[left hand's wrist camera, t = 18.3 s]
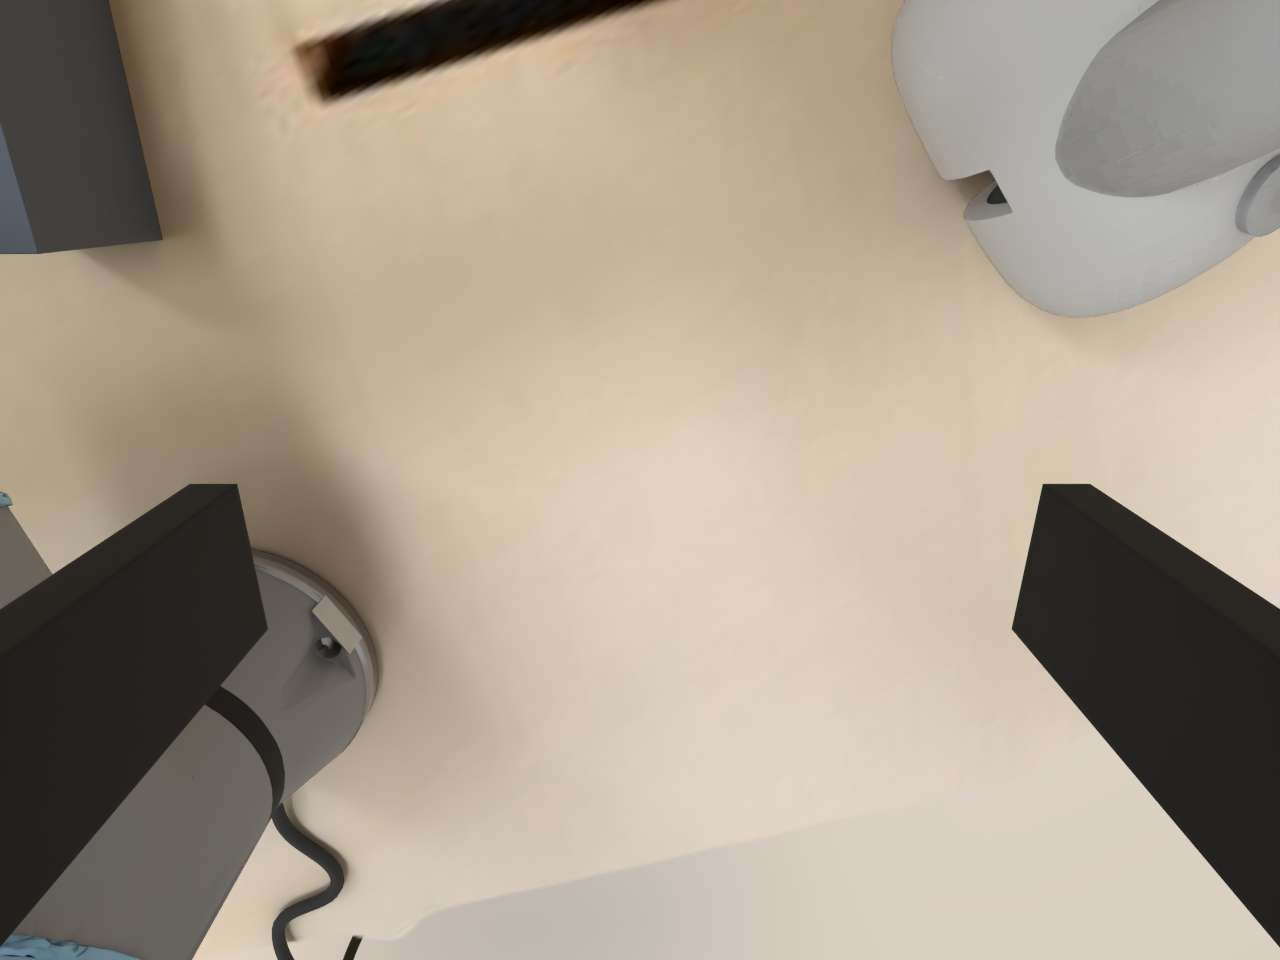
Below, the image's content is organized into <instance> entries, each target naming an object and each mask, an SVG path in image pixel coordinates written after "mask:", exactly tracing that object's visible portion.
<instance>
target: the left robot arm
mask: <svg viewBox="0 0 1280 960" xmlns="http://www.w3.org/2000/svg"><path fill="white" fill-rule="evenodd" d="M11 505H13V503H12V501H11V498H10V497H9V496H8V494H6V493H3V492H0V960H192V959H193V957H194V955H195V953H196V951H197V950H198V948H199V946H200V944H201V943H202V941H203V939H204V937H205V935H206V934H207V932H208V930H209V928H210V926H211V925H212V923H213V921H214V919H215V918H216V916H217V914H218V912H219V910H220V909H221V907H222V905H223V903H224V902H225V900H226V898H227V896H228V894H229V893H230V891H231V889H232V887H233V885H234V884H235V882H236V880H237V878H238V877H239V875H240V873H241V871H242V869H243V868H244V866H245V864H246V862H247V861H248V859H249V857H250V855H251V853H252V852H253V850H254V848H255V846H256V845H257V843H258V841H259V839H260V837H261V836H262V834H263V832H264V830H265V828H266V826H267V824H268V823H269V821H270V819H271V818H272V820H273V822H274V825H275V827H276V828H277V830H278V831H279V833H280V834H281V835H282V836H283V838H284V839H285V840H286V841H287V842H288V843H290V844H291V845H292V846H293V847H295V848H296V849H297V850H299V851H300V852H302V853H303V854H305V855H306V856H308V857H309V858H311V859H312V860H314V861H315V862H316V863H318V864H319V865H320V866H321V867H323V868H324V869H325V870H326V872H327V873H328V874H329V877H330V879H331V883H330V887H329V888H328V889H327V890H325V891H324V892H322V893H320V894H318V895H316V896H314V897H311V898H309V899H306V900H304V901H301V902H298V903H296V904H294V905H292V906H290V907H288V908H286V909H285V910H284V911H282V912H281V913H280V914H279V916H278V917H277V918H276V920H275V921H274V923H273V927H272V941H273V947H274V950H275V954H276V956H277V959H278V960H294V958H293V957H292V955H291V953H290V950H289V948H288V945H287V942H286V938H285V927H286V924H287V923H288V922H289V921H291V920H292V919H294V918H296V917H298V916H300V915H303V914H305V913H308V912H310V911H313V910H315V909H318V908H320V907H323V906H325V905H327V904H328V903H330V902H332V901H333V900H334V899H335V898H336V897H337V896H338V894H339V893H340V891H341V890H342V888H343V883H344V877H343V871H342V868H341V866H340V864H339V863H338V862H337V860H336V859H335V858H334V857H333V856H332V855H331V854H329V853H328V852H327V851H326V850H324V849H323V848H321V847H320V846H319V845H317V844H316V843H314V842H313V841H311V840H310V839H308V838H307V837H305V836H304V835H303V834H302V833H300V832H299V831H298V830H297V829H296V828H295V827H294V826H293V824H292V823H291V822H290V820H289V818H288V817H287V815H286V812H285V809H284V806H283V803H282V802H283V801H284V800H286V799H287V798H288V797H289V796H290V795H291V794H293V793H294V792H295V791H296V790H297V789H299V788H300V787H301V786H302V785H303V784H305V783H306V782H307V781H308V780H309V779H310V778H312V777H313V776H314V775H315V774H316V773H318V772H319V771H320V770H321V769H322V768H324V767H325V766H326V765H327V764H328V763H329V762H331V761H332V760H333V759H334V758H336V757H337V756H338V755H339V754H340V753H341V752H343V751H344V749H345V748H346V747H347V746H348V745H349V744H350V743H351V741H352V740H353V739H354V737H355V736H356V734H357V732H358V730H359V729H360V727H361V725H362V723H363V721H364V719H365V717H366V715H367V713H368V711H369V709H370V707H371V705H372V702H373V700H374V696H375V692H376V687H377V672H378V670H377V660H376V655H375V651H374V647H373V644H372V642H371V639H370V636H369V634H368V632H367V630H366V628H365V626H364V624H363V623H362V621H361V619H360V618H359V616H358V615H357V613H356V612H355V611H354V609H353V608H352V607H351V606H350V604H349V603H348V602H347V601H346V600H345V599H344V598H343V597H342V596H341V595H340V594H339V593H338V592H337V591H336V590H335V589H334V588H333V587H331V586H330V585H329V584H328V583H326V582H325V581H324V580H322V579H321V578H320V577H318V576H317V575H315V574H314V573H312V572H310V571H309V570H307V569H305V568H303V567H302V566H300V565H297V564H295V563H293V562H291V561H289V560H286V559H284V558H281V557H279V556H276V555H272V554H269V553H266V552H262V551H257V550H252V549H251V547H250V542H249V537H248V533H247V528H246V523H245V519H244V514H243V510H242V505H241V500H240V496H239V491H238V486H237V484H189V485H188V486H186V487H185V488H183V489H182V490H180V491H179V492H177V493H176V494H174V495H173V496H171V497H170V498H168V499H167V500H165V501H163V502H162V503H160V504H159V505H157V506H156V507H154V508H153V509H151V510H150V511H148V512H147V513H145V514H144V515H142V516H141V517H139V518H138V519H136V520H135V521H133V522H132V523H130V524H129V525H127V526H126V527H124V528H123V529H121V530H119V531H118V532H116V533H115V534H113V535H112V536H110V537H109V538H107V539H106V540H104V541H103V542H101V543H100V544H98V545H97V546H95V547H94V548H92V549H91V550H89V551H88V552H86V553H85V554H83V555H82V556H80V557H79V558H77V559H75V560H74V561H72V562H71V563H69V564H68V565H66V566H65V567H63V568H62V569H60V570H59V571H57V572H56V573H54V574H53V575H52V573H51V572H50V570H49V569H48V567H47V565H46V564H45V562H44V561H43V559H42V558H41V556H40V555H39V553H38V552H37V550H36V549H35V547H34V546H33V544H32V543H31V541H30V540H29V538H28V536H27V535H26V533H25V532H24V530H23V529H22V527H21V526H20V524H19V523H18V521H17V520H16V518H15V517H14V515H13V514H12V512H11V511H10V509H9V507H8V506H11ZM1012 630H1013V631H1014V632H1015V633H1016V635H1017V636H1018V637H1019V638H1020V639H1021V641H1022V642H1023V643H1024V644H1025V645H1026V646H1027V648H1028V649H1029V650H1030V651H1031V652H1032V654H1033V655H1034V656H1035V657H1036V658H1037V660H1038V661H1039V662H1040V663H1041V664H1042V665H1043V667H1044V668H1045V669H1046V670H1047V671H1048V673H1049V674H1050V675H1051V676H1052V677H1053V679H1054V680H1055V681H1056V682H1057V683H1058V684H1059V686H1060V687H1061V688H1062V689H1063V690H1064V692H1065V693H1066V694H1067V695H1068V696H1069V698H1070V699H1071V700H1072V701H1073V702H1074V703H1075V705H1076V706H1077V707H1078V708H1079V709H1080V711H1081V712H1082V713H1083V714H1084V715H1085V717H1086V718H1087V719H1088V720H1089V721H1090V722H1091V724H1092V725H1093V726H1094V727H1095V728H1096V730H1097V731H1098V732H1099V733H1100V734H1101V735H1102V737H1103V738H1104V739H1105V740H1106V741H1107V743H1108V744H1109V745H1110V746H1111V747H1112V749H1113V750H1114V751H1115V752H1116V753H1117V755H1118V756H1119V757H1120V758H1121V759H1122V761H1123V762H1124V763H1125V764H1126V765H1127V766H1128V768H1129V769H1130V770H1131V771H1132V772H1133V774H1134V775H1135V776H1136V777H1137V778H1138V779H1139V781H1140V782H1141V783H1142V784H1143V785H1144V787H1145V788H1146V789H1147V790H1148V791H1149V792H1150V794H1151V795H1152V796H1153V797H1154V799H1155V800H1156V801H1157V802H1158V803H1159V804H1160V806H1161V807H1162V808H1163V809H1164V810H1165V812H1166V813H1167V814H1168V815H1169V816H1170V818H1171V819H1172V820H1173V821H1174V822H1175V823H1176V825H1177V826H1178V827H1179V828H1180V829H1181V831H1182V832H1183V833H1184V834H1185V835H1186V837H1187V838H1188V839H1189V840H1190V841H1191V842H1192V844H1193V845H1194V846H1195V847H1196V848H1197V850H1198V851H1199V852H1200V853H1201V854H1202V856H1203V857H1204V858H1205V859H1206V860H1207V861H1208V863H1209V864H1210V865H1211V866H1212V867H1213V869H1214V870H1215V871H1216V872H1217V873H1218V875H1219V876H1220V877H1221V878H1222V879H1223V880H1224V882H1225V883H1226V884H1227V885H1228V886H1229V888H1230V889H1231V890H1232V891H1233V892H1234V894H1235V895H1236V896H1237V897H1238V898H1239V899H1240V901H1241V902H1242V903H1243V904H1244V905H1245V907H1246V908H1247V909H1248V910H1249V911H1250V913H1251V914H1252V915H1253V916H1254V917H1255V918H1256V920H1257V921H1258V922H1259V923H1260V924H1261V926H1262V927H1263V928H1264V929H1265V930H1266V932H1267V933H1268V934H1269V935H1270V936H1271V937H1272V939H1273V940H1274V941H1275V942H1276V943H1277V945H1278V946H1279V947H1280V609H1279V608H1277V607H1276V606H1274V605H1273V604H1271V603H1270V602H1268V601H1267V600H1265V599H1264V598H1262V597H1261V596H1259V595H1258V594H1256V593H1255V592H1253V591H1252V590H1250V589H1248V588H1247V587H1245V586H1244V585H1242V584H1241V583H1239V582H1238V581H1236V580H1235V579H1233V578H1232V577H1230V576H1229V575H1227V574H1226V573H1224V572H1223V571H1221V570H1220V569H1218V568H1217V567H1215V566H1214V565H1212V564H1211V563H1209V562H1208V561H1206V560H1205V559H1203V558H1201V557H1200V556H1198V555H1197V554H1195V553H1194V552H1192V551H1191V550H1189V549H1188V548H1186V547H1185V546H1183V545H1182V544H1180V543H1179V542H1177V541H1176V540H1174V539H1173V538H1171V537H1170V536H1168V535H1167V534H1165V533H1164V532H1162V531H1161V530H1159V529H1157V528H1156V527H1154V526H1153V525H1151V524H1150V523H1148V522H1147V521H1145V520H1144V519H1142V518H1141V517H1139V516H1138V515H1136V514H1135V513H1133V512H1132V511H1130V510H1129V509H1127V508H1126V507H1124V506H1123V505H1121V504H1120V503H1118V502H1117V501H1115V500H1113V499H1112V498H1110V497H1109V496H1107V495H1106V494H1104V493H1103V492H1101V491H1100V490H1098V489H1097V488H1095V487H1094V486H1092V485H1091V484H1043V486H1042V491H1041V496H1040V500H1039V505H1038V510H1037V514H1036V519H1035V523H1034V528H1033V533H1032V537H1031V542H1030V547H1029V551H1028V556H1027V561H1026V565H1025V570H1024V575H1023V579H1022V584H1021V589H1020V593H1019V598H1018V602H1017V607H1016V612H1015V616H1014V621H1013V626H1012ZM362 939H363V937H360V936H352V938H351V941H350V943H349V945H348V947H347V950H346V952H345V955H344V958H343V960H354V957H355V955H356V952H357V950H358V947H359V945H360V943H361V941H362Z"/></svg>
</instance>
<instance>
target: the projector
mask: <svg viewBox="0 0 1280 960" xmlns="http://www.w3.org/2000/svg"><path fill="white" fill-rule="evenodd" d="M892 65H893V72H894V77H895V81H896V84H897V87H898V91H899V93H900V96H901V99H902V101H903V104H904V107H905V109H906V112H907V114H908V116H909V118H910V120H911V122H912V124H913V127H914V129H915V131H916V133H917V135H918V137H919V139H920V141H921V143H922V145H923V147H924V148H925V150H926V152H927V154H928V156H929V158H930V160H931V161H932V163H933V165H934V167H935V169H936V170H937V172H938V174H939V176H940V177H941V178H942V179H945V180H956V179H961V178H966V177H969V176H972V175H976V174H979V173H981V172H984V171H987V170H990V171H991V173H992V175H993V176H994V178H995V180H994V181H993V182H991V183H990V184H989V185H988V186H986V187H985V188H984V189H983V190H982V191H980V192H979V193H978V194H977V195H976V196H975V197H974V198H973V199H972V201H971V202H970V203H969V204H968V206H967V207H966V209H965V211H964V213H963V218H964V219H965V221H966V223H967V224H968V226H969V228H970V230H971V231H972V233H973V235H974V236H975V238H976V240H977V241H978V243H979V245H980V246H981V248H982V249H983V251H984V253H985V254H986V256H987V257H988V259H989V260H990V262H991V263H992V264H993V266H994V267H995V269H996V270H997V271H998V273H999V274H1000V275H1001V276H1002V278H1003V279H1004V280H1005V281H1006V282H1007V284H1008V285H1009V286H1010V287H1011V288H1012V289H1013V290H1014V291H1015V292H1016V293H1017V294H1018V295H1020V296H1021V297H1022V298H1023V299H1025V300H1026V301H1028V302H1029V303H1030V304H1032V305H1034V306H1036V307H1037V308H1039V309H1041V310H1043V311H1046V312H1049V313H1052V314H1055V315H1058V316H1064V317H1070V318H1084V317H1094V316H1101V315H1106V314H1110V313H1114V312H1118V311H1121V310H1125V309H1128V308H1131V307H1134V306H1136V305H1139V304H1142V303H1144V302H1147V301H1149V300H1152V299H1155V298H1157V297H1159V296H1161V295H1163V294H1165V293H1167V292H1169V291H1171V290H1173V289H1175V288H1177V287H1179V286H1181V285H1183V284H1185V283H1187V282H1189V281H1190V280H1192V279H1194V278H1196V277H1197V276H1199V275H1201V274H1202V273H1204V272H1206V271H1207V270H1209V269H1211V268H1212V267H1214V266H1216V265H1217V264H1219V263H1220V262H1222V261H1223V260H1225V259H1226V258H1227V257H1229V256H1230V255H1232V254H1233V253H1235V252H1236V251H1237V250H1239V249H1240V248H1242V247H1243V246H1244V245H1245V244H1247V243H1248V242H1249V241H1251V240H1252V239H1253V238H1254V237H1256V236H1260V237H1261V236H1264V235H1268V234H1270V233H1272V232H1274V231H1275V230H1277V229H1278V228H1280V0H905V2H904V3H903V5H902V7H901V9H900V11H899V14H898V16H897V19H896V22H895V26H894V29H893V36H892Z"/></svg>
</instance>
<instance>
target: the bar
mask: <svg viewBox="0 0 1280 960" xmlns="http://www.w3.org/2000/svg"><path fill="white" fill-rule="evenodd" d="M158 240H162V236H161V232H160V227H159V223H158V218H157V214H156V210H155V205H154V201H153V196H152V192H151V188H150V183H149V179H148V174H147V170H146V166H145V161H144V157H143V152H142V148H141V144H140V139H139V135H138V130H137V126H136V122H135V117H134V113H133V108H132V104H131V100H130V95H129V91H128V86H127V82H126V78H125V73H124V69H123V64H122V60H121V56H120V51H119V47H118V43H117V38H116V34H115V29H114V25H113V21H112V16H111V12H110V7H109V3H108V0H0V254H42V253H51V252H60V251H68V250H77V249H86V248H95V247H104V246H113V245H122V244H131V243H140V242H149V241H158Z"/></svg>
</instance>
